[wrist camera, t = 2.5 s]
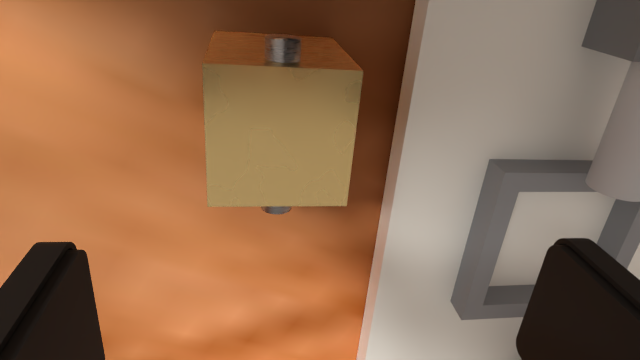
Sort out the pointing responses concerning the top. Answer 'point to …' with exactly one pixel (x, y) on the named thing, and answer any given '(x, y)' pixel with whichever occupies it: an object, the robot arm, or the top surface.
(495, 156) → the white fixture base plate
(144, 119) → the top surface
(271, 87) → the block
